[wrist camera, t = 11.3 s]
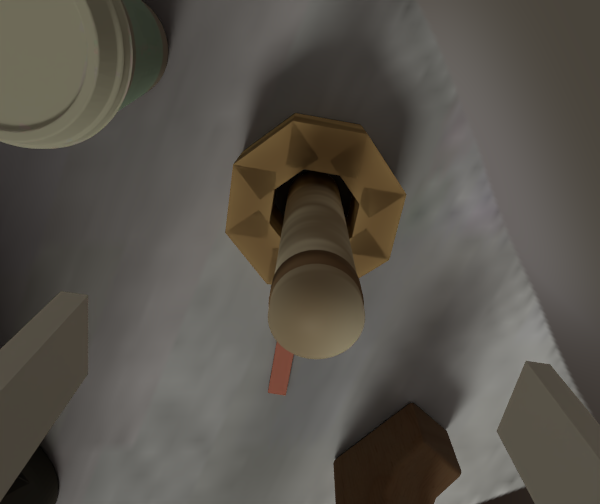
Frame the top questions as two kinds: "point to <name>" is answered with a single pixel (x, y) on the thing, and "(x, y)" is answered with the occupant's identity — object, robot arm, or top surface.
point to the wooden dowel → (315, 273)
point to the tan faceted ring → (322, 158)
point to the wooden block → (398, 462)
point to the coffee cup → (73, 66)
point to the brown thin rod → (280, 371)
